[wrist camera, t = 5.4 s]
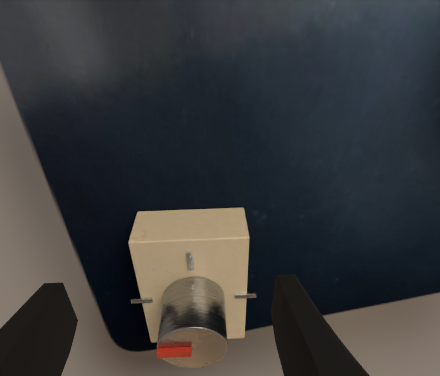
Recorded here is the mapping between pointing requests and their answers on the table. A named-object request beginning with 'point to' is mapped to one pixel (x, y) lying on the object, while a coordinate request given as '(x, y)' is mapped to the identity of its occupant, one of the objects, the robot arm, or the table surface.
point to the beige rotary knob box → (191, 258)
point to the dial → (192, 323)
